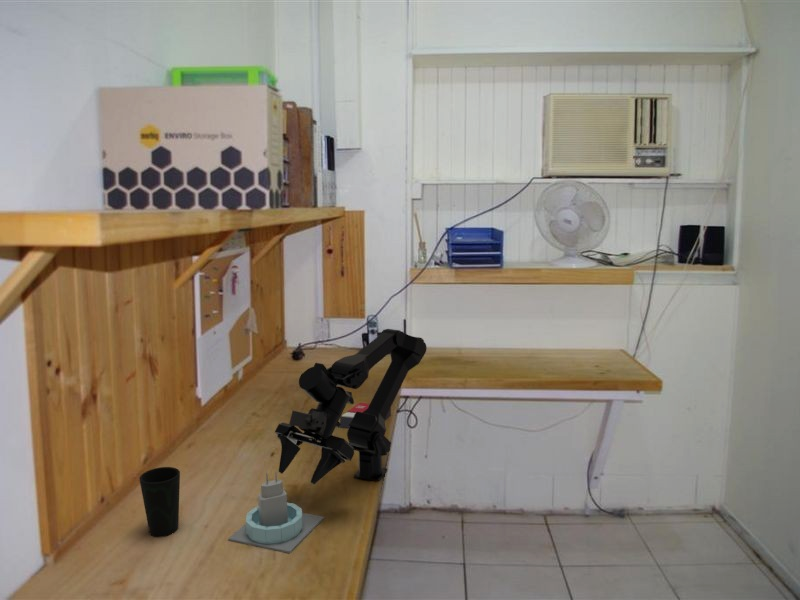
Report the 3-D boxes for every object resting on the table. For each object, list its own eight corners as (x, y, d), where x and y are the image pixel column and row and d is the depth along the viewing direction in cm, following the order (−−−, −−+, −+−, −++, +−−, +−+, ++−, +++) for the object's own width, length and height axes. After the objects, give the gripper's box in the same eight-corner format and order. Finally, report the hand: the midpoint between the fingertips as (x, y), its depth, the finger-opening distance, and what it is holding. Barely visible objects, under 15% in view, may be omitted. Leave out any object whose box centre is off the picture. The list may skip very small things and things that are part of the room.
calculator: (391, 404, 194) (374, 417, 180) (391, 417, 195) (374, 432, 181) (358, 401, 198) (339, 414, 184) (358, 414, 198) (339, 428, 184)
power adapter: (258, 527, 126) (255, 471, 124) (284, 520, 128) (282, 466, 126) (262, 534, 123) (259, 477, 121) (289, 527, 126) (286, 471, 124)
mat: (266, 507, 136) (266, 506, 136) (323, 518, 131) (323, 516, 131) (228, 540, 123) (228, 538, 123) (289, 553, 118) (289, 551, 118)
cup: (188, 519, 131) (184, 466, 129) (176, 539, 124) (172, 482, 122) (151, 520, 131) (147, 467, 129) (137, 540, 123) (133, 483, 121)
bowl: (266, 512, 133) (265, 498, 133) (312, 521, 129) (311, 506, 129) (235, 538, 123) (234, 523, 122) (284, 548, 119) (283, 533, 118)
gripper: (278, 387, 137) (242, 452, 130) (343, 402, 126) (309, 473, 119) (304, 410, 144) (272, 473, 137) (368, 426, 134) (337, 494, 127)
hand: (295, 477), depth 130 cm, fingers open, 9 cm apart
